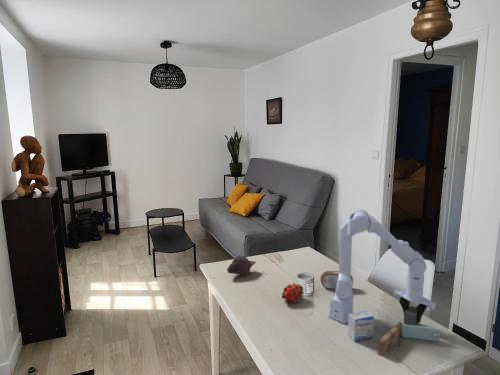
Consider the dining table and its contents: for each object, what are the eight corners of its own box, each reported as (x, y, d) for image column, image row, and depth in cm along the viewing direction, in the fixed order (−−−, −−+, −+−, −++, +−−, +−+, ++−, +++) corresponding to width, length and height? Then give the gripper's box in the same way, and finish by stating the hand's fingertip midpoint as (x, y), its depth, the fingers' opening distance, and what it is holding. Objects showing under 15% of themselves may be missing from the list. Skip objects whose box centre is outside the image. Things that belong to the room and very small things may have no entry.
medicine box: (353, 342, 123) (354, 320, 122) (347, 334, 128) (348, 313, 126) (373, 338, 125) (374, 316, 124) (365, 331, 130) (366, 310, 128)
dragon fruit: (305, 300, 156) (284, 312, 150) (293, 285, 160) (273, 295, 154) (311, 291, 150) (290, 303, 144) (299, 275, 154) (278, 286, 148)
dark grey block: (414, 327, 129) (415, 315, 128) (403, 323, 131) (404, 311, 130) (420, 321, 133) (421, 309, 132) (410, 317, 135) (411, 305, 135)
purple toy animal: (232, 282, 171) (232, 263, 169) (221, 276, 179) (220, 258, 177) (259, 272, 182) (259, 254, 180) (248, 267, 190) (247, 249, 188)
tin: (352, 287, 164) (352, 270, 163) (353, 290, 161) (354, 273, 159) (320, 286, 166) (320, 270, 164) (320, 289, 162) (321, 272, 161)
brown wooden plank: (382, 356, 115) (382, 342, 114) (377, 354, 117) (378, 340, 116) (402, 336, 126) (403, 323, 125) (397, 334, 127) (398, 321, 126)
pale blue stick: (403, 338, 124) (404, 327, 123) (402, 335, 126) (403, 324, 125) (440, 343, 121) (441, 331, 120) (438, 339, 123) (439, 328, 122)
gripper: (439, 288, 127) (436, 322, 129) (400, 276, 137) (398, 308, 140) (432, 295, 122) (429, 330, 124) (392, 282, 132) (390, 314, 135)
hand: (412, 319), depth 132 cm, fingers closed on dark grey block, 4 cm apart
